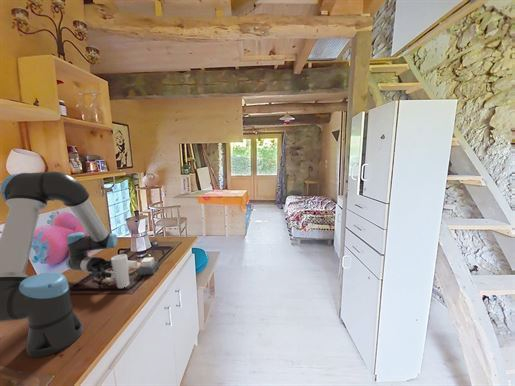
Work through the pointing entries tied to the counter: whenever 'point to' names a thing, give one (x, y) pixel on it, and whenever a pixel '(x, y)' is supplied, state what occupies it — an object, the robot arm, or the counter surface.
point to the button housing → (148, 269)
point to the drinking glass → (121, 270)
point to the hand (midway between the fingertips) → (127, 269)
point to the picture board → (110, 280)
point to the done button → (147, 262)
